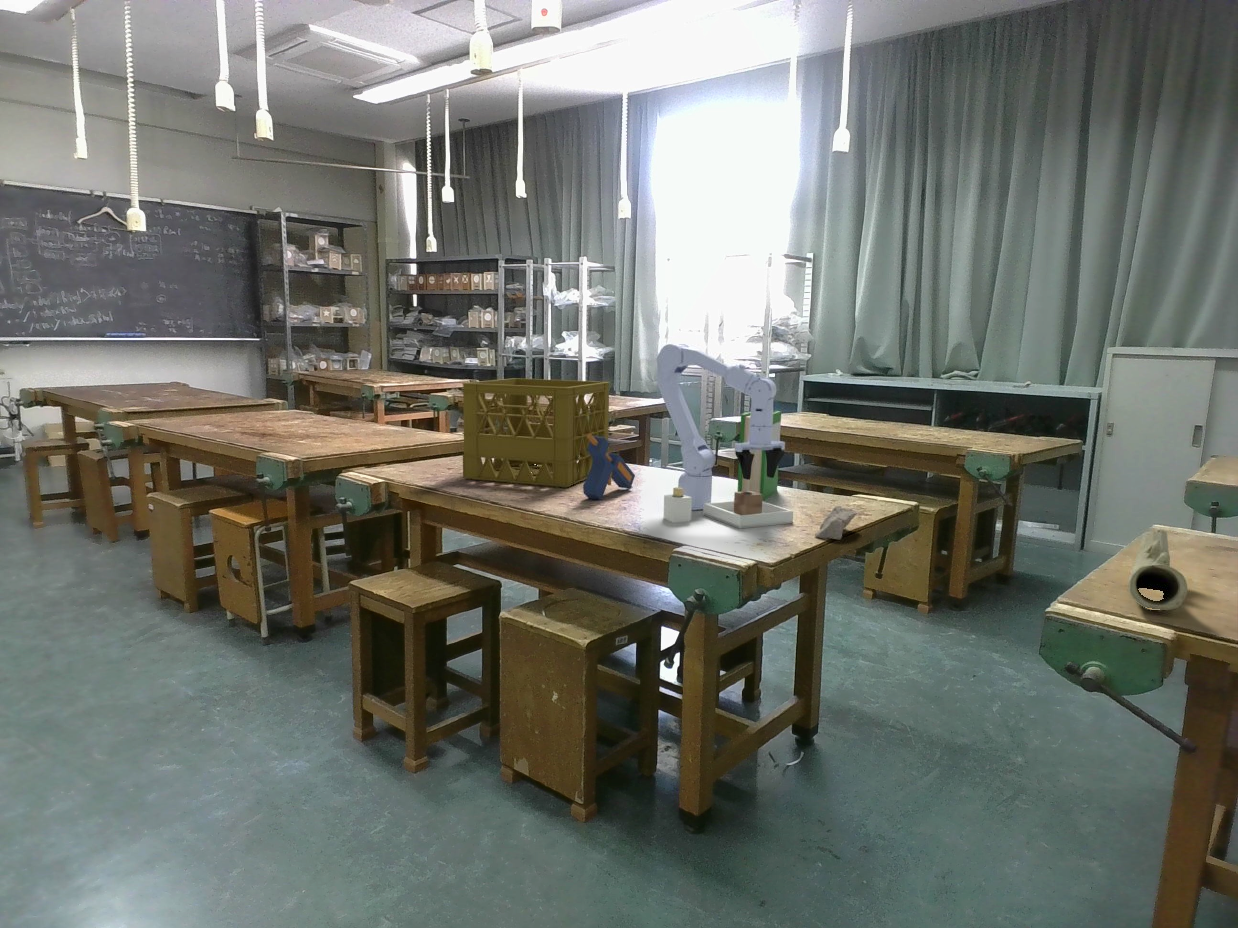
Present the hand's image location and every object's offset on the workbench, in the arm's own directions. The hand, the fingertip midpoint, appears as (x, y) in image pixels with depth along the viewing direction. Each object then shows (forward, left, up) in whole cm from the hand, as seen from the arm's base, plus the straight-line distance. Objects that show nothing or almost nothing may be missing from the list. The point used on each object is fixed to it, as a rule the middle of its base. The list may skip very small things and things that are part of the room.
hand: (758, 478), depth 204 cm
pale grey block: (-2, -23, -10) cm, 25 cm away
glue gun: (-37, -24, -10) cm, 45 cm away
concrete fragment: (+25, +4, -10) cm, 27 cm away
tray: (+4, -6, -9) cm, 12 cm away
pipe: (+82, +27, -10) cm, 87 cm away
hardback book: (-21, +16, -10) cm, 28 cm away
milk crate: (-74, -32, -10) cm, 81 cm away
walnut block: (+4, -6, -9) cm, 11 cm away
